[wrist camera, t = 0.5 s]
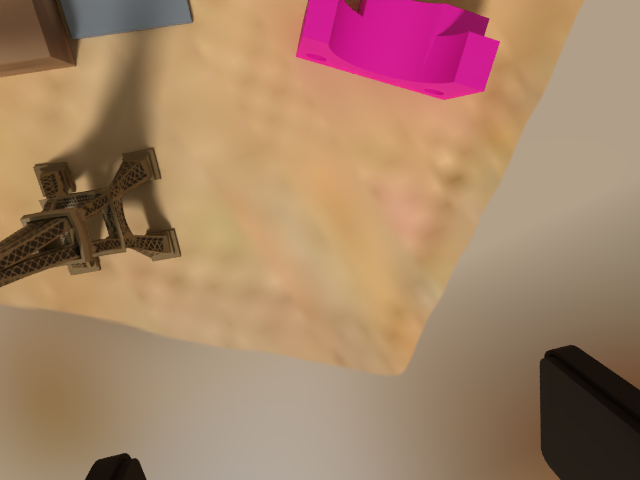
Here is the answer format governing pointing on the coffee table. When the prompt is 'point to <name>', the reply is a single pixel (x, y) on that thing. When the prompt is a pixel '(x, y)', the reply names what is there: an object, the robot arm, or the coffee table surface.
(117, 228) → the eiffel tower
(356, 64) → the toy block
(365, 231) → the coffee table surface
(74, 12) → the mat
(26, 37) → the deck
